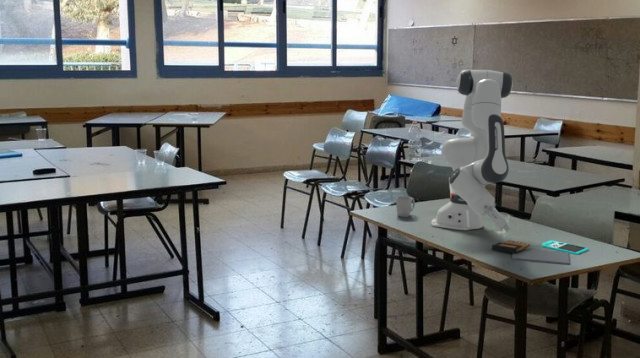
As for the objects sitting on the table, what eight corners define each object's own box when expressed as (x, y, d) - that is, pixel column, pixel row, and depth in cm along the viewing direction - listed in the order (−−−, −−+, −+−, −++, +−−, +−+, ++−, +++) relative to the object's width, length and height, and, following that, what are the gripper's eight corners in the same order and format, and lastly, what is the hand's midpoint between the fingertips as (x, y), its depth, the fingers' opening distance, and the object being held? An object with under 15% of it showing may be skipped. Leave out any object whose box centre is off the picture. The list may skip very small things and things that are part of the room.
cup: (392, 215, 316) (392, 197, 315) (408, 212, 321) (409, 195, 320) (402, 218, 310) (402, 200, 308) (419, 215, 315) (419, 197, 313)
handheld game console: (551, 242, 274) (551, 239, 273) (589, 251, 262) (589, 247, 262) (538, 247, 267) (538, 244, 266) (577, 256, 255) (577, 252, 255)
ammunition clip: (491, 244, 261) (508, 238, 269) (491, 249, 262) (509, 243, 269) (516, 248, 253) (533, 242, 261) (516, 253, 254) (533, 246, 261)
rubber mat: (512, 259, 249) (512, 257, 249) (513, 249, 262) (513, 247, 262) (569, 264, 243) (569, 263, 243) (568, 253, 256) (568, 252, 256)
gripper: (495, 204, 243) (520, 230, 245) (484, 192, 263) (508, 217, 265) (481, 215, 244) (507, 242, 246) (472, 203, 264) (496, 228, 266)
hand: (507, 229), depth 255 cm, fingers closed
